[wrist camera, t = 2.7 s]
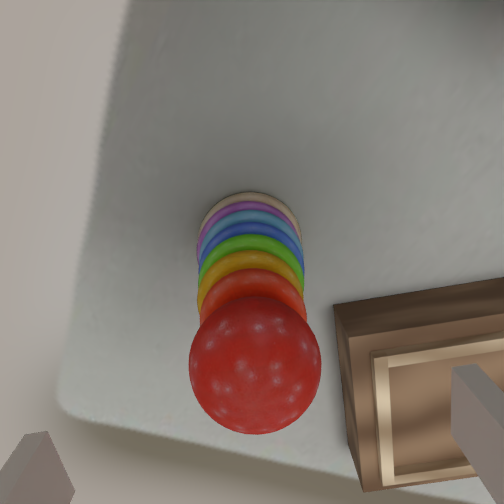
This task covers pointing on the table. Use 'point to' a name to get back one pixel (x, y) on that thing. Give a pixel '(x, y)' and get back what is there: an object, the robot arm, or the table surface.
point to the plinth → (414, 377)
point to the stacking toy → (252, 317)
